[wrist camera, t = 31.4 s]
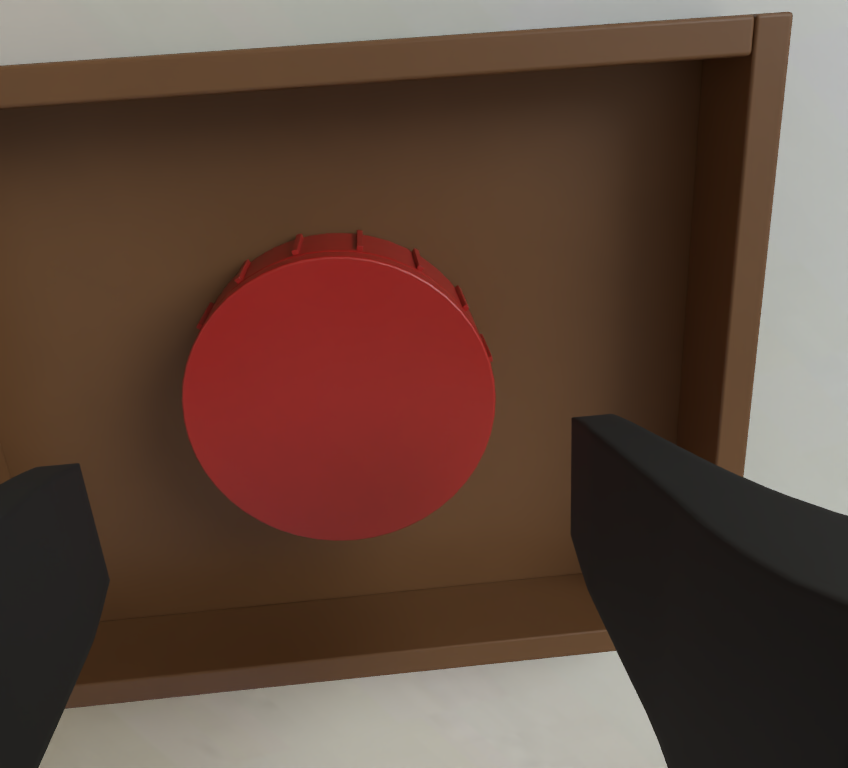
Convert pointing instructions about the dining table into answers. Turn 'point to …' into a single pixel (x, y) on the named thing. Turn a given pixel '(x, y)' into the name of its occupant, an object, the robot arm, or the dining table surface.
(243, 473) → the jar lid
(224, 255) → the tray
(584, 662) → the dining table surface
